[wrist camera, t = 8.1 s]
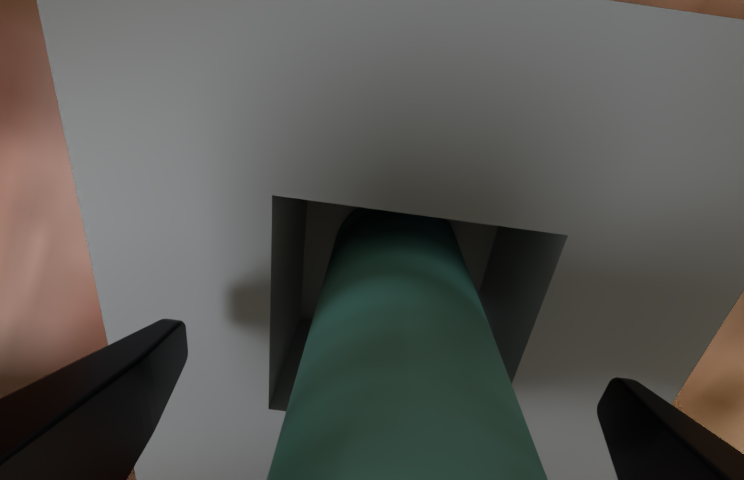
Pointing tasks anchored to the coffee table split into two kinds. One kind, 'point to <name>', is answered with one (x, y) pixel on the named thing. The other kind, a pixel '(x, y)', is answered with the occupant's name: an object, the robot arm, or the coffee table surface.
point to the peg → (401, 367)
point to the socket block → (405, 190)
